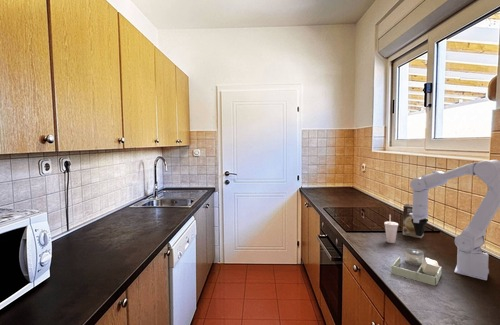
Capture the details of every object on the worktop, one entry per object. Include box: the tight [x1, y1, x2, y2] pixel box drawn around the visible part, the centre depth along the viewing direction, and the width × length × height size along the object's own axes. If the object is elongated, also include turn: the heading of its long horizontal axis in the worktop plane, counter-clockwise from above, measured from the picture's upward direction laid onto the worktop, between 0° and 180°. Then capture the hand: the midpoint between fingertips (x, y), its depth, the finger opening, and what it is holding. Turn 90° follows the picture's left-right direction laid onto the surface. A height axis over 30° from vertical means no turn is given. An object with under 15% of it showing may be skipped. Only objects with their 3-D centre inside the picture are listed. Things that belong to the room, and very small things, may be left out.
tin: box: [405, 248, 425, 267], centre depth 114 cm, size 7×7×5 cm
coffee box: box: [402, 203, 424, 239], centre depth 147 cm, size 9×6×16 cm
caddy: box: [390, 256, 442, 287], centre depth 105 cm, size 14×11×3 cm
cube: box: [422, 257, 441, 276], centre depth 101 cm, size 4×4×4 cm
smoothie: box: [383, 214, 399, 244], centre depth 138 cm, size 6×6×14 cm
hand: (419, 235), depth 120 cm, fingers closed
